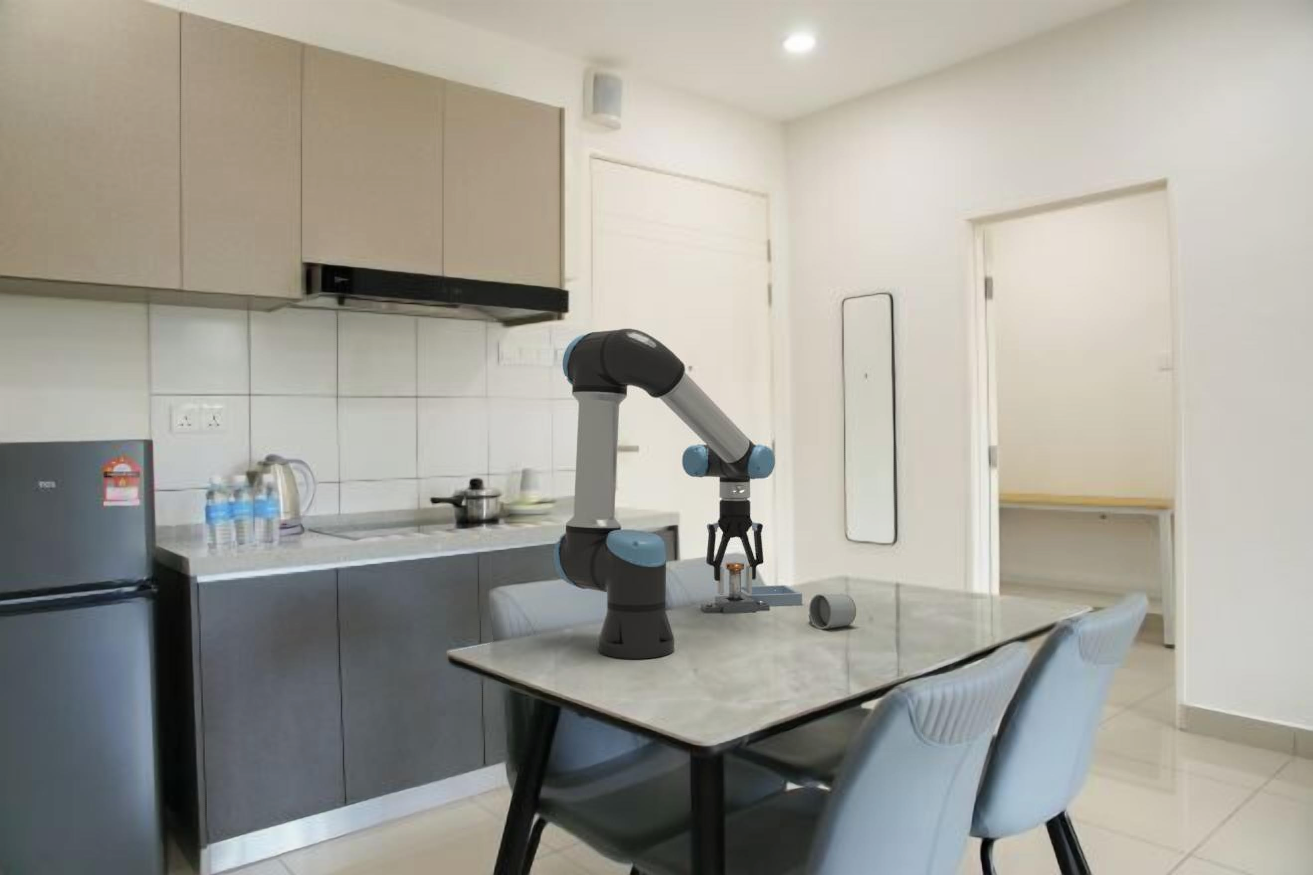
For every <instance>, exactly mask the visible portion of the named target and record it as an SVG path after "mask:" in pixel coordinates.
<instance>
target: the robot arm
mask: <svg viewBox="0 0 1313 875" xmlns="http://www.w3.org/2000/svg"><path fill="white" fill-rule="evenodd" d="M562 370H563V374H564V377H566V378H567V379H566V381H568V382H567V383H569V384H570V385H572V386H571V387H572V388H571V389H572V390H571V391H572V392H571V394H572V396H573V397H574V398H575V400H576V401H577V403H578V413H577V414H578V415H577V416H578V417H577V418H578V419H577V436H576V457H575V459H576V460H575V481H574V498H573V499H574V501H573V504H574V505H573V515H572V517H571V518H570V519H569V520H568V521H567V522H566V523H565V533H563V534H562V535H561V536H560V537H559V540H558V541H556V542H555V546H554V548H553V563H554V567H555V569H556V571H557V574H558V575H559V576H560V578H561V579H562V580H563V581H564V582H566V583H567V584H569V585H572V586H575V587H577V588H579V589H583V590H592V591H593V590H594V591H597V592H598V591H599V592H604V593H606V597H607V598H606V601H607V602H606V603H607V604H606V605H607V606H606V608H607V609H606V615H605V617H604V621H603V624H602V627H601V631H600V633H599V637H598V652H599V653H600V654H602V655H605V656H607V657H613V658H619V659H634V660H635V659H636V660H637V659H652V658H659V657H664V656H667V655H670V654H671V653H673V652H674V651H675V637H674V633H673V630H672V627H671V624H670V620H669V618H668V615H667V611H666V587H667V586H666V585H667V583H666V582H667V581H666V580H667V579H666V578H667V554H666V544H665V543H666V542H665V541H664V539H663V538H662V537H661V536H660V535H658V534H656V533H654V532H653V533H652V532H649V531H644V530H636V529H622V525H621V523H619V521H618V520H617V519H616V518H615V509H616V508H615V507H616V506H615V505H616V490H617V489H616V488H617V487H616V486H617V467H618V466H617V464H618V463H617V462H618V443H619V442H618V441H619V438H618V437H619V418H620V405H621V403H622V402H623V401H624V400H625V399H626V398H627V397H628V386H633V387H636V388H639V389H642V390H643V391H645V392H646V394H647V395H649V396H650V397H652V398H654V399H660V400H661V401H662V402H663V403H664V404H665V405H666V406H667V407H668V409H670V410H671V411H672V412H673V414H675V415H676V416H678V418H679V419H680V420H681V421H682V422H683V423H684V424H686V426H688V428H689V429H690V430H692V432H693V433H695V434H696V435H697V437H699V438H700V439H701V441H703V442H704V443H705V444H694V445H693V444H692V445H690V446H688V447H686V449H684V452H683V453H682V456H681V457H682V460H681V464H682V465H681V466H682V468H683V470H684V472H685V473H686V474H687V475H688V476H690V477H692V478H703V477H706V478H707V477H708V478H709V477H710V478H711V477H713V478H719V480H718V481H719V493H718V494H719V498H721V500H720V501H719V502H718V503H719V518H718V520H717V522H714V523H708V524H707V525H706V528H707V532H708V537H707V538H708V540H707V549H706V550H707V551H706V561H705V562H706V564H707V565H708V566H711V567H713V578H714V581H716V582H717V594H718V595H719V596H724V590H725V588H724V586H725V585H724V583H725V581H724V579H725V578H724V572H725V570H724V567H722V563H723V560H724V556H725V553H726V550H727V547H728V545H729V542H730V540H731V538H732V539H733V538H739V539H740V540H741V543H742V547H743V551H744V552H745V556H746V560H747V561H748V565H745V586H746V592H747V593H748V594H752V586H753V581H755V580H756V579H757V567H758V566H759V565H762V564H763V563H765V562H764V553H763V552H764V550H763V549H764V548H763V539H762V532H763V528H764V526H763V524H762V523H761V522H753V521H752V517H751V501H750V500H749V498H751V480H755V479H757V480H759V479H766V478H768V477H769V476H771V475H772V473H773V470H774V469H775V465H776V457H775V454H774V451H773V450H772V448H770V447H769V446H767V445H762V444H754V442H752V440H750V439H749V437H748V436H747V435H746V434H745V433H743V431H742V430H741V429H740V428H739V426H737V424H735V423H734V422H733V420H732V419H730V417H728V416H727V414H726V413H725V412H724V411H723V410H722V409H721V408H720V407H719V406H718V405H717V404H716V403H715V401H713V399H711V398H710V396H708V394H707V393H705V392H704V390H703V389H702V388H701V387H700V386H699V385H698V384H697V383H696V382H695V381H694V380H693V379H692V378H691V377H690V376H689V374H687V372H686V366H685V364H684V362H683V361H682V360H681V359H680V358H679V357H678V356H677V355H676V354H675V353H674V352H673V351H672V350H671V349H670V348H668V347H667V345H665V344H663V343H662V342H661V341H659V340H658V339H657V338H654V337H653V336H652V335H649V334H648V333H646V332H643V331H642V330H638V329H634V328H620V329H613V330H612V329H611V330H602V331H591V332H588V333H586V334H582V335H579V336H577V337H575V338H573V340H572V341H571V342H570V343H569V344H568V345H567V347H566V349H565V350H564V353H563V356H562ZM719 529H720V530H721V531H722V535H721V537H720V538H721V540H720V543H719V545H718V549H717V552H716V554H715V551H716V550H715V548H716V538H717V535H716V534H717V532H718V530H719ZM750 529H751V530H752V531H753V541H754V550H755V555H754V552H753V549H752V546H751V543H750V540H749V539H750V538H749V535H748V531H750Z"/></svg>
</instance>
